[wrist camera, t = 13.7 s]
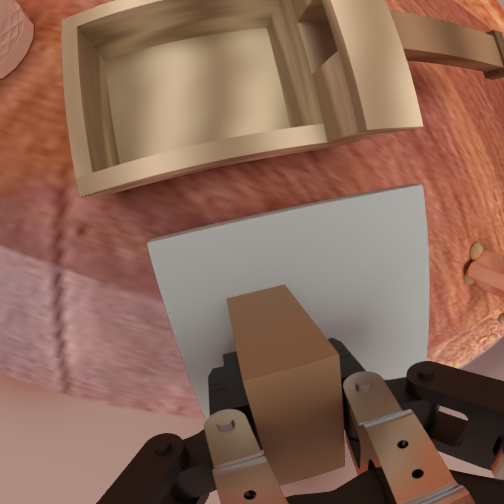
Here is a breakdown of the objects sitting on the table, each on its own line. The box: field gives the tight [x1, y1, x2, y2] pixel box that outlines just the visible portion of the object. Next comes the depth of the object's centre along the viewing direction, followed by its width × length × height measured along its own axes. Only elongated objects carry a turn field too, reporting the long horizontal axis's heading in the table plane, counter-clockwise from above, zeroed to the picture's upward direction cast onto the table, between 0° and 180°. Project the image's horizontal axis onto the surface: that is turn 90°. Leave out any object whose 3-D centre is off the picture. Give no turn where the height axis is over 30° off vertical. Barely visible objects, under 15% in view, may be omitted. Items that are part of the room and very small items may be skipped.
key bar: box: [389, 10, 504, 80], centre depth 13 cm, size 12×3×2 cm, turn 102°
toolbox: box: [62, 0, 423, 197], centre depth 15 cm, size 16×11×11 cm
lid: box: [147, 184, 429, 486], centre depth 12 cm, size 13×11×7 cm
